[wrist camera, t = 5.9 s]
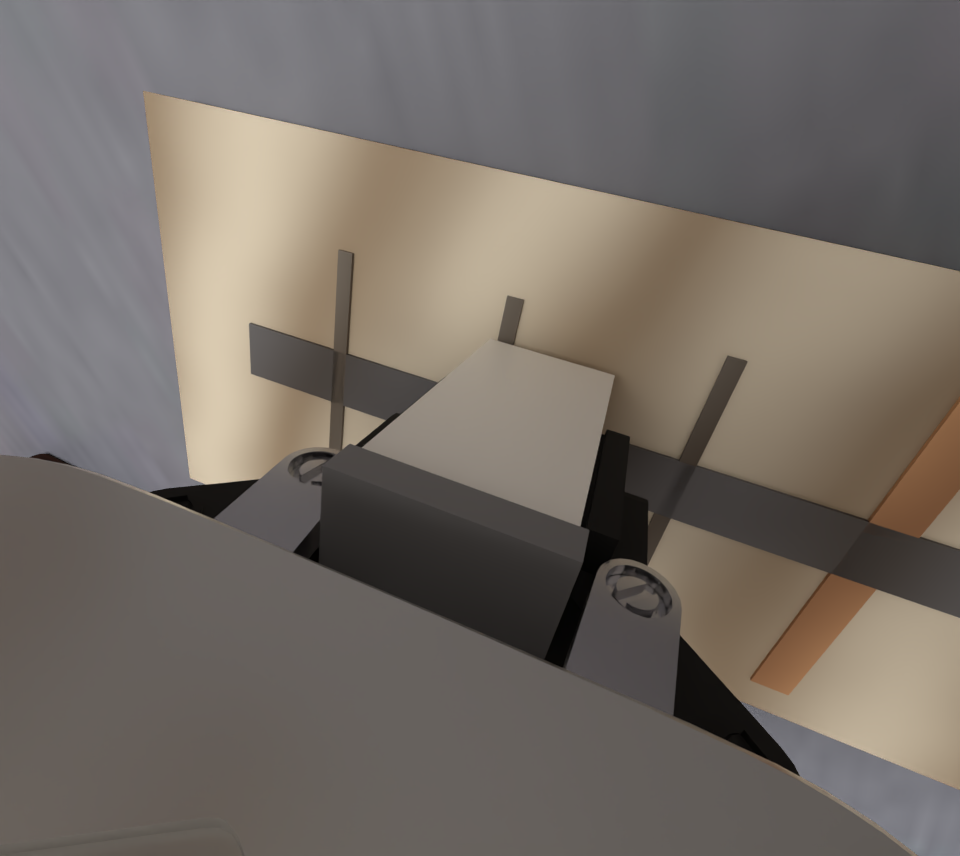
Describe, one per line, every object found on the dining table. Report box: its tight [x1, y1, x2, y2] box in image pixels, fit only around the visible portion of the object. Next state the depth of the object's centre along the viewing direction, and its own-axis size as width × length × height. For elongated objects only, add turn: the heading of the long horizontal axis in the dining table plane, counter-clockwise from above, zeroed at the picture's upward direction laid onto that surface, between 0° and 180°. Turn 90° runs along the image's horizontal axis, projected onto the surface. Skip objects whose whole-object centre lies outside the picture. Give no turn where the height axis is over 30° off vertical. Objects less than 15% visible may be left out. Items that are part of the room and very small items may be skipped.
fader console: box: [143, 91, 960, 790], centre depth 13 cm, size 26×12×2 cm, turn 78°
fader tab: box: [319, 339, 615, 660], centre depth 10 cm, size 3×5×7 cm, turn 168°
